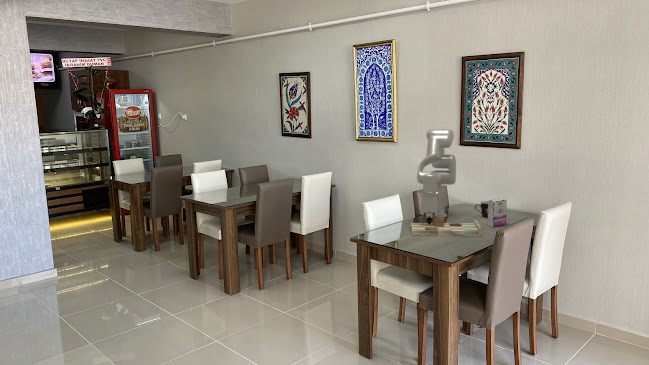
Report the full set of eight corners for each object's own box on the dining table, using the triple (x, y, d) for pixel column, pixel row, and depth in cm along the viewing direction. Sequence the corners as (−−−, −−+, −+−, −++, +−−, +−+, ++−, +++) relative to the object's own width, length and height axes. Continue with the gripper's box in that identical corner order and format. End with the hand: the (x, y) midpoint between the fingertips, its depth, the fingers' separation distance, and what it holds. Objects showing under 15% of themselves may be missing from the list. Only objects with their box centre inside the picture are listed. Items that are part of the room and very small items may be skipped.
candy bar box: (500, 223, 308) (500, 198, 305) (506, 225, 303) (507, 199, 301) (487, 226, 303) (487, 200, 300) (493, 227, 298) (494, 201, 296)
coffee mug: (495, 216, 327) (495, 201, 326) (492, 219, 320) (492, 204, 319) (477, 214, 334) (478, 200, 332) (474, 217, 326) (474, 202, 325)
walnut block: (433, 224, 299) (433, 216, 298) (443, 224, 298) (443, 216, 297) (433, 226, 293) (433, 218, 292) (444, 226, 292) (444, 218, 291)
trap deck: (410, 227, 304) (410, 219, 303) (475, 228, 298) (475, 219, 297) (411, 235, 285) (411, 226, 284) (480, 236, 280) (480, 226, 279)
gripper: (441, 193, 296) (441, 222, 299) (416, 193, 299) (416, 222, 301) (442, 195, 289) (442, 225, 292) (416, 195, 291) (416, 225, 294)
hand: (429, 223), depth 297 cm, fingers closed
